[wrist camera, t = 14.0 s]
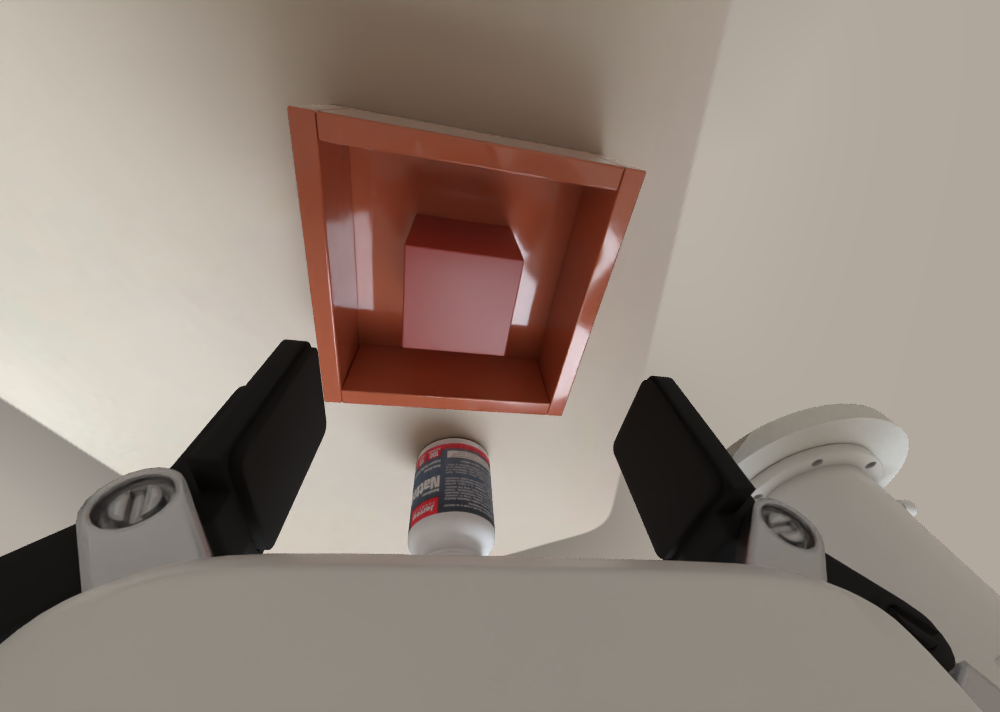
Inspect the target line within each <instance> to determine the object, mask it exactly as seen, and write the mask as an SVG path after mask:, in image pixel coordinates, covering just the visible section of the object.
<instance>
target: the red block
mask: <svg viewBox="0 0 1000 712" xmlns="http://www.w3.org/2000/svg"><path fill="white" fill-rule="evenodd" d="M523 265H524V258H523V256H522V254H521V251H520V249H519V246H518V244H517V242H516V239H515V237H514V234H513V232H512V230H511V228H510V227H504V226H497V225H490V224H483V223H476V222H470V221H463V220H456V219H449V218H442V217H435V216H428V215H422V214H416V215H415V218H414V220H413V223H412V226H411V228H410V231H409V234H408V236H407V239H406V242H405V244H404V273H403V317H402V347H403V348H415V349H427V350H439V351H450V352H462V353H474V354H485V355H497V356H504V355H505V352H506V347H507V342H508V337H509V333H510V328H511V323H512V318H513V313H514V308H515V304H516V299H517V294H518V289H519V284H520V280H521V275H522V270H523Z"/></svg>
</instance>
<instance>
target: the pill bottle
mask: <svg viewBox="0 0 1000 712" xmlns="http://www.w3.org/2000/svg"><path fill="white" fill-rule="evenodd" d="M494 540H495V527H494V514H493V502H492V489H491V475H490V463H489V458H488V455H487V453H486V451H485V450H484V449H483V448H482V447H481V446H480V445H478V444H476V443H474V442H472V441H470V440H466V439H460V438H448V439H442V440H439V441H436V442H434V443H432V444H430V445H428V446H427V447H426V448H425V449H423V451H422V452H421V453H420V455H419V457H418V459H417V464H416V472H415V480H414V488H413V498H412V505H411V514H410V523H409V532H408V548H409V551H410V553H411V555H465V556H487V555H488V554H489V553H490V551H491V549H492V547H493V545H494Z"/></svg>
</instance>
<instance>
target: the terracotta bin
mask: <svg viewBox="0 0 1000 712" xmlns="http://www.w3.org/2000/svg"><path fill="white" fill-rule="evenodd" d="M287 111H288V119H289V127H290V135H291V142H292V150H293V158H294V166H295V174H296V182H297V190H298V197H299V205H300V213H301V221H302V229H303V237H304V245H305V252H306V260H307V268H308V276H309V284H310V292H311V300H312V307H313V315H314V323H315V331H316V339H317V347H318V355H319V362H320V370H321V378H322V386H323V394H324V401H325V402H338V403H341V402H343V403H353V404H370V405H387V406H404V407H421V408H438V409H455V410H472V411H488V412H505V413H522V414H539V415H555V416H562V413H563V410H564V407H565V404H566V402H567V399H568V396H569V393H570V390H571V387H572V384H573V381H574V379H575V376H576V373H577V370H578V367H579V364H580V361H581V358H582V356H583V353H584V350H585V347H586V344H587V341H588V338H589V335H590V333H591V330H592V327H593V324H594V321H595V318H596V315H597V312H598V309H599V307H600V304H601V301H602V298H603V295H604V292H605V289H606V286H607V284H608V281H609V278H610V275H611V272H612V269H613V266H614V263H615V261H616V258H617V255H618V252H619V249H620V246H621V243H622V240H623V238H624V235H625V232H626V229H627V226H628V223H629V220H630V217H631V215H632V212H633V209H634V206H635V203H636V200H637V197H638V194H639V191H640V189H641V186H642V183H643V180H644V177H645V174H646V171H644V170H642V169H639V168H636V167H634V166H631V165H628V164H626V163H623V162H620V161H617V160H615V159H612V158H609V157H607V156H604V155H599V154H594V153H588V152H583V151H578V150H572V149H567V148H562V147H556V146H551V145H546V144H540V143H535V142H530V141H524V140H519V139H514V138H508V137H503V136H498V135H492V134H487V133H481V132H476V131H471V130H465V129H460V128H455V127H449V126H444V125H439V124H433V123H428V122H423V121H417V120H412V119H407V118H401V117H396V116H391V115H385V114H380V113H375V112H369V111H364V110H359V109H353V108H348V107H343V106H337V105H332V104H329V105H290V106H288V107H287ZM416 214H422V215H428V216H435V217H442V218H449V219H456V220H463V221H470V222H476V223H483V224H490V225H497V226H504V227H510V228H511V230H512V232H513V234H514V237H515V239H516V242H517V244H518V246H519V249H520V251H521V254H522V256H523V258H524V265H523V270H522V275H521V280H520V284H519V289H518V294H517V299H516V304H515V308H514V313H513V318H512V323H511V328H510V333H509V337H508V342H507V347H506V352H505V355H504V356H497V355H485V354H474V353H462V352H450V351H439V350H427V349H415V348H403V347H402V317H403V273H404V244H405V242H406V239H407V236H408V234H409V231H410V228H411V226H412V223H413V220H414V218H415V215H416Z"/></svg>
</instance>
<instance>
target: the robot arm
mask: <svg viewBox="0 0 1000 712" xmlns="http://www.w3.org/2000/svg"><path fill="white" fill-rule="evenodd" d="M325 430H326V415H325V407H324V399H323V390H322V382H321V374H320V365H319V357H318V351H317V349H316V348H312V347H311V345H310V343H309V342H307V341H297V340H283V341H282V342H281V343H280V344H279V346H278V347H277V348H276V349H275V350H274V352H273V353H272V354H271V355H270V356H269V358H268V359H267V360H266V361H265V363H264V364H263V365H262V366H261V367H260V369H259V370H258V371H257V372H256V373H255V375H254V376H253V377H252V378H251V380H250V381H249V382H248V383H247V384H246V386H242V387H239V388H238V389H237V390H236V391H235V392H234V393H233V395H232V396H231V397H230V398H229V399H228V400H227V402H226V403H225V404H224V405H223V406H222V408H221V409H220V410H219V411H218V412H217V414H216V415H215V416H214V417H213V418H212V419H211V421H210V422H209V423H208V424H207V425H206V427H205V428H204V429H203V430H202V431H201V433H200V434H199V435H198V436H197V437H196V438H195V440H194V441H193V442H192V443H191V444H190V446H189V447H188V448H187V449H186V450H185V451H184V453H183V454H182V455H181V456H180V457H179V459H178V460H177V461H176V462H175V463H174V465H173V466H172V467H171V468H161V467H158V468H148V469H143V470H139V471H135V472H132V473H128V474H126V475H124V476H122V477H119V478H117V479H115V480H113V481H111V482H109V483H108V484H106V485H105V486H103V487H102V488H100V489H98V490H97V491H96V492H95V493H94V494H93V495H92V496H90V497H89V498H88V499H87V500H86V501H85V503H84V504H83V506H82V507H81V508H80V510H79V512H78V515H77V520H76V524H74V525H73V526H70V527H68V528H65V529H63V530H61V531H58V532H57V533H54V534H52V535H49V536H47V537H45V538H42V539H40V540H38V541H36V542H33V543H31V544H29V545H27V546H24V547H22V548H20V549H18V550H15V551H13V552H11V553H8V554H6V555H4V556H1V557H0V712H1000V596H999V595H998V594H997V593H996V592H995V591H994V590H993V589H992V588H990V587H989V586H988V585H987V584H986V583H985V582H984V581H983V580H982V579H980V577H978V576H977V575H976V574H975V573H974V572H973V571H972V570H971V569H970V568H969V567H968V566H966V565H965V564H964V563H963V562H962V561H961V560H960V559H959V558H957V556H955V555H954V554H953V553H952V552H951V551H950V550H949V549H948V548H947V547H946V546H945V545H943V544H942V543H941V542H940V541H939V540H938V539H937V538H936V537H935V536H934V535H932V534H931V533H930V532H929V531H928V530H927V529H926V528H925V527H923V525H922V524H920V523H919V522H918V521H917V520H916V519H915V518H914V517H913V516H915V515H916V514H917V512H918V511H917V507H916V506H915V504H914V503H912V502H910V501H907V500H895V499H894V498H893V497H892V496H891V495H890V494H888V493H887V492H886V491H885V490H884V489H883V488H882V487H881V486H880V485H879V482H880V480H881V477H882V474H883V466H882V463H881V461H880V460H879V459H878V458H877V457H876V456H875V455H874V454H873V453H872V452H870V451H869V450H868V449H866V448H864V447H862V446H858V445H854V444H841V443H839V444H829V445H823V446H818V447H814V448H810V449H807V450H804V451H801V452H798V453H795V454H793V455H791V456H788V457H786V458H784V459H782V460H780V461H778V462H776V463H775V464H773V465H771V466H769V467H768V468H766V469H765V470H764V471H762V472H761V473H759V474H758V475H757V476H756V477H754V478H753V479H752V480H751V481H750V480H749V479H748V478H747V477H746V475H745V474H744V473H743V471H742V470H741V469H740V467H739V466H738V465H737V463H736V462H735V461H734V459H733V458H732V457H731V455H730V454H729V453H728V451H727V450H726V449H725V448H724V446H723V445H722V444H721V442H720V441H719V440H718V438H717V437H716V436H715V434H714V433H713V432H712V430H711V429H710V428H709V426H708V425H707V424H706V423H705V421H704V420H703V419H702V417H701V416H700V415H699V413H698V412H697V411H696V409H695V408H694V407H693V405H692V404H691V403H690V402H689V400H688V399H687V397H686V396H685V395H684V393H683V392H682V391H681V389H680V388H679V387H678V386H677V385H676V383H675V382H674V380H673V379H672V378H669V377H658V376H650V377H649V378H648V379H647V380H644V381H643V382H642V383H641V385H640V387H639V390H638V392H637V394H636V396H635V398H634V400H633V403H632V405H631V407H630V409H629V411H628V413H627V415H626V418H625V420H624V422H623V424H622V426H621V428H620V431H619V433H618V435H617V437H616V439H615V441H614V446H613V450H614V455H615V457H616V459H617V462H618V464H619V466H620V469H621V471H622V474H623V476H624V478H625V481H626V483H627V485H628V488H629V490H630V493H631V495H632V497H633V500H634V502H635V504H636V507H637V509H638V512H639V514H640V516H641V519H642V521H643V523H644V526H645V528H646V530H647V533H648V535H649V538H650V540H651V542H652V545H653V547H654V550H655V552H656V554H657V555H658V556H659V557H660V558H661V559H663V560H633V559H597V558H596V559H595V558H557V557H513V556H465V555H405V554H263V551H264V550H270V549H271V548H272V547H273V546H274V544H275V542H276V540H277V538H278V535H279V533H280V531H281V529H282V527H283V524H284V522H285V520H286V518H287V516H288V513H289V511H290V509H291V507H292V505H293V502H294V500H295V498H296V496H297V494H298V491H299V489H300V487H301V485H302V483H303V480H304V478H305V476H306V474H307V471H308V469H309V467H310V465H311V463H312V460H313V458H314V456H315V454H316V452H317V449H318V447H319V445H320V443H321V441H322V438H323V436H324V434H325Z"/></svg>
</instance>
